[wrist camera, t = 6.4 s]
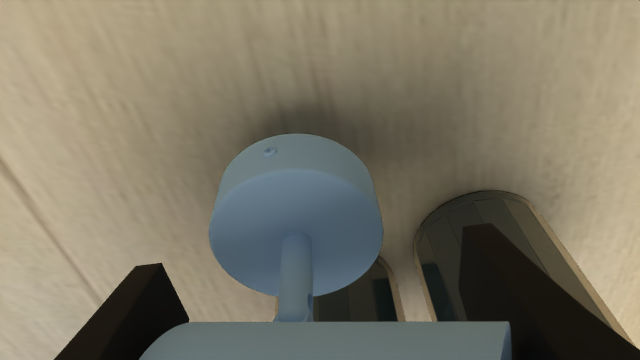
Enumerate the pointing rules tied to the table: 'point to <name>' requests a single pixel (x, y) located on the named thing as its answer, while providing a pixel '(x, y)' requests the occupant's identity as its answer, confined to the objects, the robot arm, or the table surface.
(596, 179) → the table surface
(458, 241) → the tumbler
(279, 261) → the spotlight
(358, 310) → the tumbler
